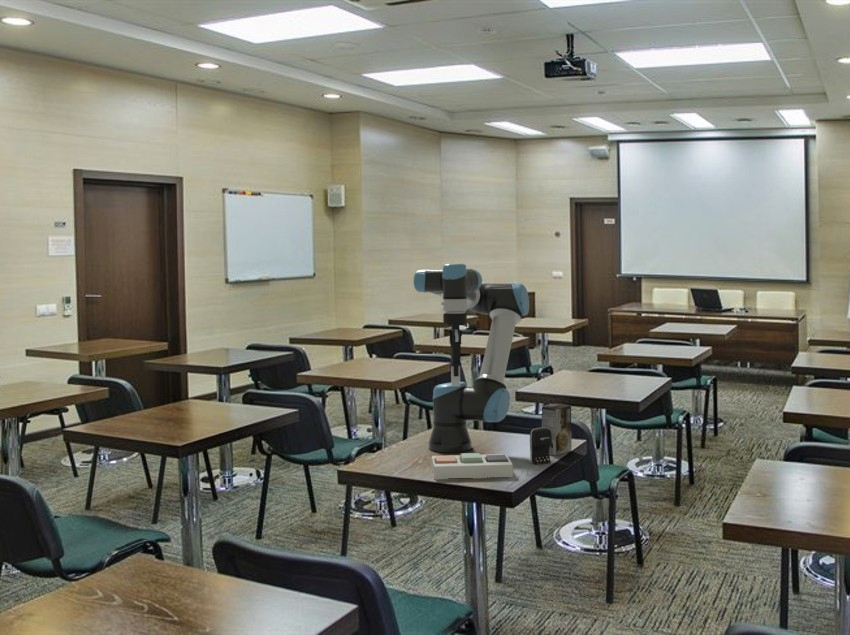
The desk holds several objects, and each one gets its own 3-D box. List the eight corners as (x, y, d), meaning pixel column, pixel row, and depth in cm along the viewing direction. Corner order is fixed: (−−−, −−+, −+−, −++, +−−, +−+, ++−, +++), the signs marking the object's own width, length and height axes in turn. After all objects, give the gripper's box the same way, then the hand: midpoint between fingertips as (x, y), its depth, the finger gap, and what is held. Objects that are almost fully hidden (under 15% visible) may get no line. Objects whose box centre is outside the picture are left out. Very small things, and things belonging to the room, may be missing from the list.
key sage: (460, 462, 269) (460, 453, 269) (479, 462, 269) (479, 452, 269) (462, 467, 263) (462, 457, 263) (481, 466, 263) (481, 457, 263)
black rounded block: (536, 465, 274) (536, 430, 273) (529, 463, 277) (529, 428, 276) (553, 462, 277) (553, 428, 277) (546, 460, 281) (546, 426, 280)
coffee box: (557, 448, 298) (556, 402, 297) (572, 451, 294) (572, 404, 292) (540, 452, 292) (540, 406, 291) (556, 455, 287) (556, 408, 286)
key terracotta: (435, 465, 269) (435, 456, 268) (454, 465, 269) (454, 456, 269) (436, 470, 263) (436, 461, 262) (456, 470, 263) (456, 460, 263)
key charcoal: (486, 464, 269) (486, 455, 269) (504, 464, 270) (504, 454, 269) (488, 469, 263) (488, 459, 263) (507, 468, 264) (507, 459, 263)
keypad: (431, 468, 273) (431, 454, 272) (506, 466, 274) (506, 453, 273) (434, 479, 259) (434, 465, 258) (512, 477, 260) (512, 463, 260)
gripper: (441, 311, 276) (442, 383, 277) (444, 313, 263) (445, 389, 264) (464, 310, 276) (465, 382, 278) (468, 313, 263) (469, 389, 265)
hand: (455, 386), depth 271 cm, fingers closed
